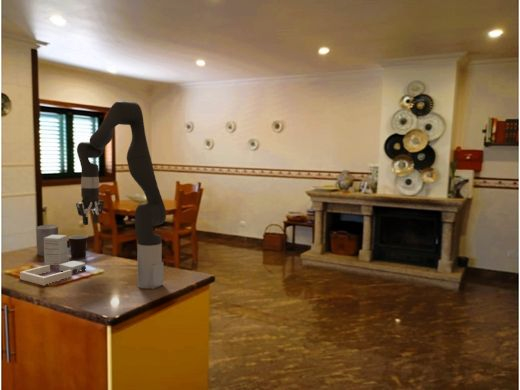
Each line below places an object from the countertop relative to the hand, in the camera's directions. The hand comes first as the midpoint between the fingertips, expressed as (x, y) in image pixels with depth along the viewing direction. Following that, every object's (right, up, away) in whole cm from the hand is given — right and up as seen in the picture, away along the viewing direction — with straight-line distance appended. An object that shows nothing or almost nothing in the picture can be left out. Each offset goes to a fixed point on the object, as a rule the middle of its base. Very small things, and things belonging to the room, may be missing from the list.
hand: (90, 223), depth 187 cm
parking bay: (-11, -21, -18) cm, 30 cm away
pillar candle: (-30, -17, +20) cm, 39 cm away
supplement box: (-18, -19, +4) cm, 26 cm away
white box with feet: (-5, -20, -7) cm, 22 cm away
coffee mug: (-12, -17, +17) cm, 27 cm away
